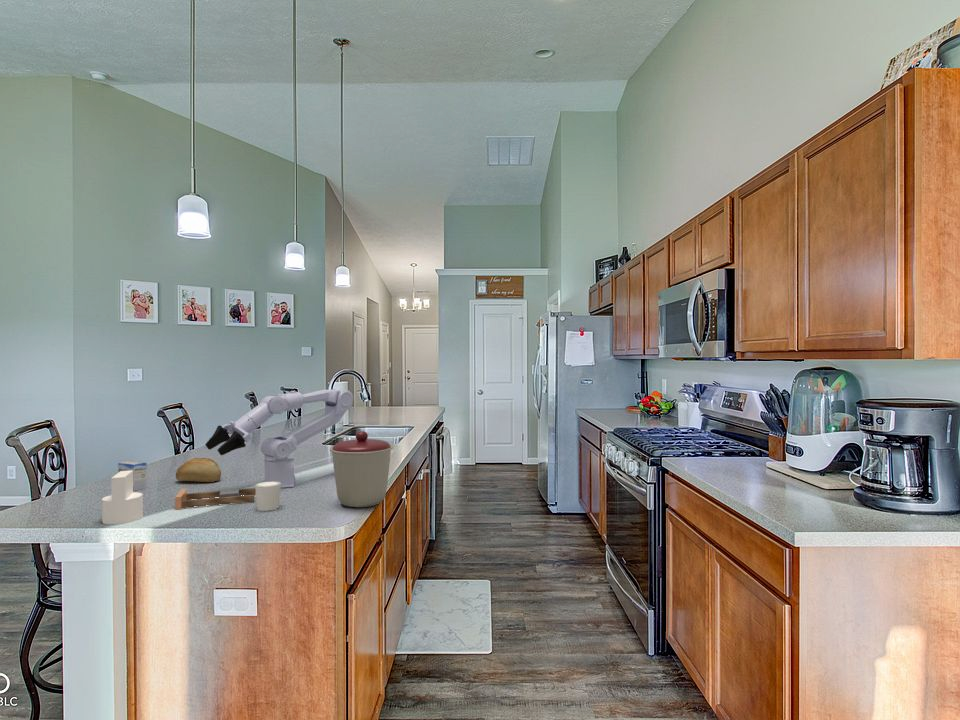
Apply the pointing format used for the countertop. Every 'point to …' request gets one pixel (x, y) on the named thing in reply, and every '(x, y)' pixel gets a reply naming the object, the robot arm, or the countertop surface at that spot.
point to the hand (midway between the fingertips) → (213, 449)
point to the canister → (361, 470)
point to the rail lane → (211, 498)
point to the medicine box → (135, 473)
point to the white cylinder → (268, 495)
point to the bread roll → (199, 470)
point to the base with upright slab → (122, 501)
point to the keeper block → (229, 493)
